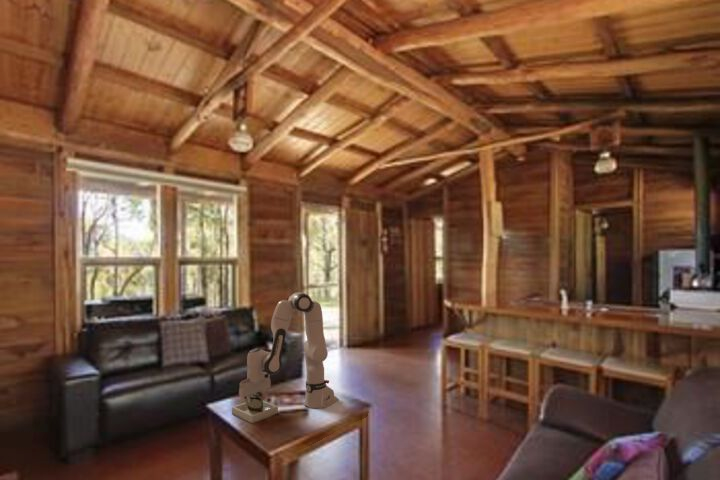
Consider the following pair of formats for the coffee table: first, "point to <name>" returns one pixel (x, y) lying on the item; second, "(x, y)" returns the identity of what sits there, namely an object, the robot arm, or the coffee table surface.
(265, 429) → the coffee table surface
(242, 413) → the tray
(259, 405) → the food container
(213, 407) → the coffee table surface
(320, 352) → the robot arm
